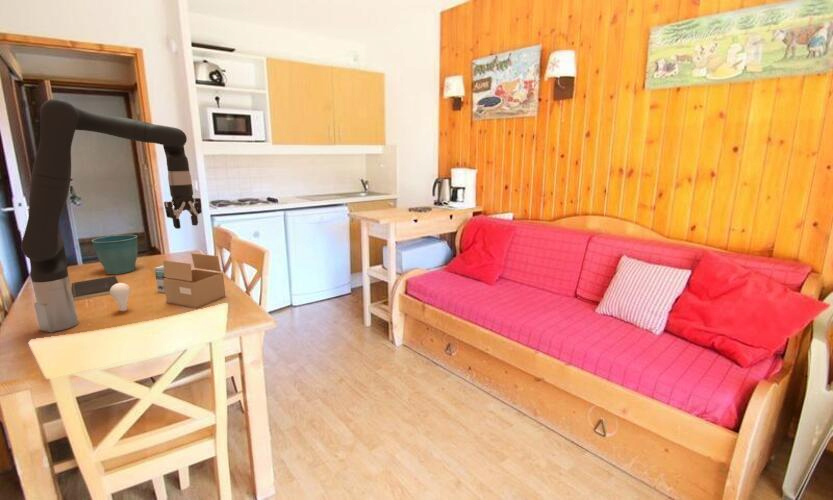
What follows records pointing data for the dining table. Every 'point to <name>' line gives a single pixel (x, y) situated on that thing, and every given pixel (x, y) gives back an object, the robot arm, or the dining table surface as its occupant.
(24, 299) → the dining table surface
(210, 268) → the far flap
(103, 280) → the hardcover book
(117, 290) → the lightbulb
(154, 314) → the dining table surface
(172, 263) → the near flap
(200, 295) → the carton
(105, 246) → the flower pot
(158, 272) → the light bulb box
